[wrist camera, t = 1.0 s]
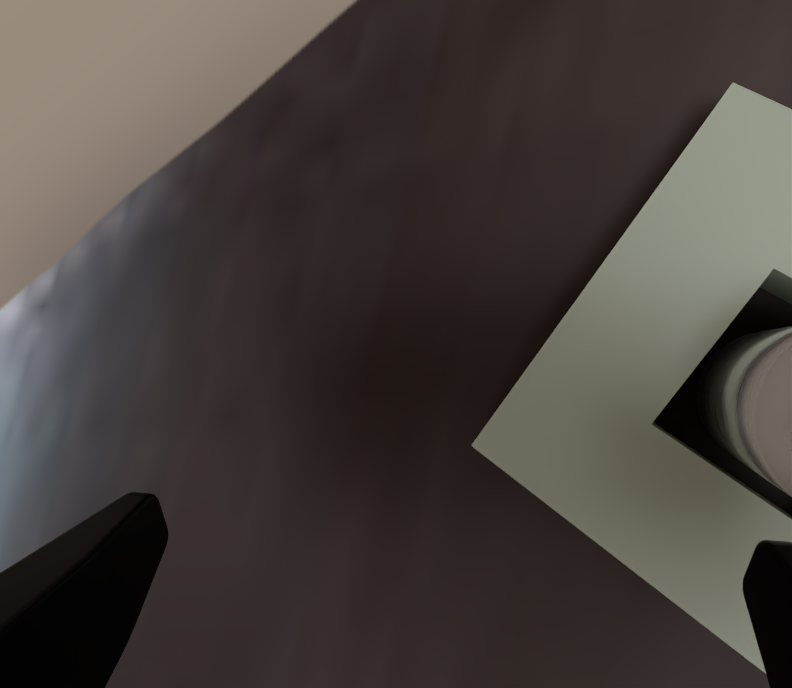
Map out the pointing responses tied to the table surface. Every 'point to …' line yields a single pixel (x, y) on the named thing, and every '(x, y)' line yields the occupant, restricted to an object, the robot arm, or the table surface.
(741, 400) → the gray cylinder
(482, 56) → the table surface
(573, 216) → the table surface
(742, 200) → the bore block
